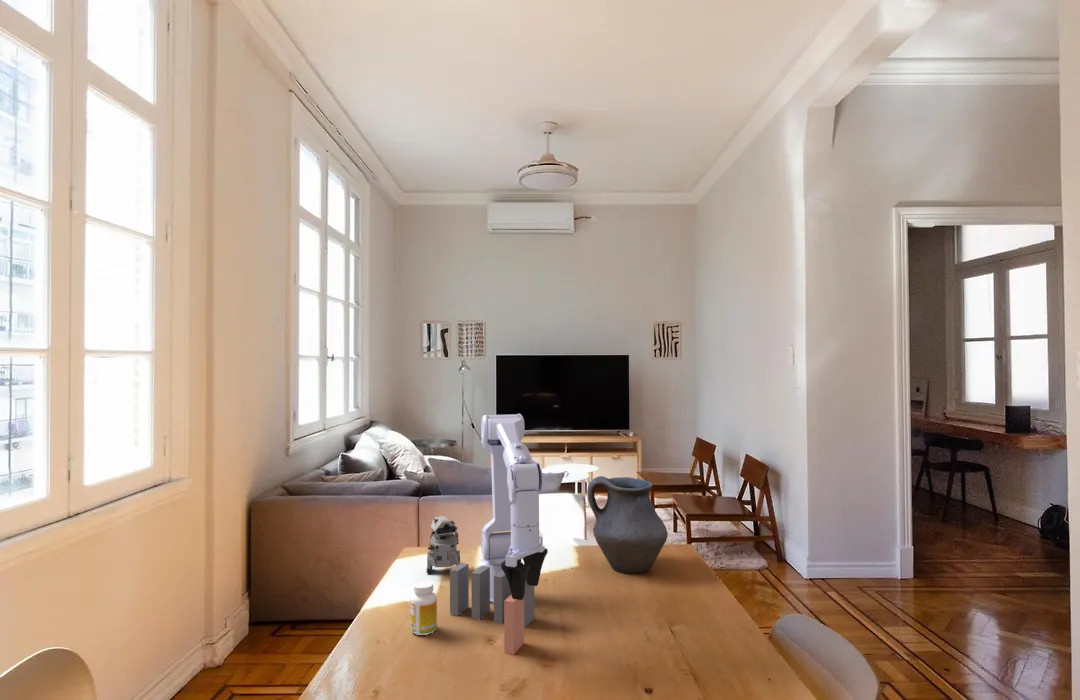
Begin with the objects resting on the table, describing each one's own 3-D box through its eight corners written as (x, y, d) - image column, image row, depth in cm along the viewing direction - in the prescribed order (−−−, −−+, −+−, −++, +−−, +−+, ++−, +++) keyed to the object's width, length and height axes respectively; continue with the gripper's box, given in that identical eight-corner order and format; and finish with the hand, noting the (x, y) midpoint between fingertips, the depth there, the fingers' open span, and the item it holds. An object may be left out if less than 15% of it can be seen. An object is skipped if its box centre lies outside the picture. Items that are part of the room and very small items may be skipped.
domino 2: (471, 618, 131) (471, 572, 131) (482, 609, 136) (481, 565, 136) (479, 619, 130) (479, 574, 130) (489, 611, 135) (489, 566, 135)
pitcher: (675, 581, 152) (674, 484, 153) (590, 581, 152) (589, 484, 153) (660, 555, 173) (659, 469, 173) (585, 556, 173) (584, 470, 174)
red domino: (504, 652, 115) (504, 600, 115) (515, 641, 120) (514, 591, 120) (513, 654, 114) (513, 602, 115) (524, 643, 119) (523, 593, 119)
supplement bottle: (441, 627, 127) (441, 581, 127) (428, 638, 122) (428, 590, 122) (419, 623, 128) (419, 578, 129) (405, 634, 123) (405, 587, 124)
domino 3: (493, 622, 129) (493, 576, 129) (503, 613, 134) (503, 568, 134) (502, 623, 128) (501, 577, 128) (511, 614, 133) (511, 569, 133)
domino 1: (450, 614, 133) (449, 569, 133) (461, 606, 138) (460, 562, 138) (457, 616, 132) (457, 570, 133) (468, 607, 137) (468, 563, 137)
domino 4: (516, 626, 127) (516, 579, 127) (526, 617, 131) (525, 571, 132) (525, 627, 126) (525, 580, 126) (534, 618, 131) (534, 572, 131)
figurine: (424, 582, 153) (424, 524, 153) (428, 567, 164) (428, 513, 165) (459, 581, 154) (459, 523, 154) (461, 566, 165) (461, 512, 166)
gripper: (529, 535, 111) (530, 608, 111) (555, 516, 124) (556, 581, 124) (495, 531, 114) (496, 603, 113) (524, 513, 127) (525, 577, 127)
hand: (525, 591), depth 119 cm, fingers open, 7 cm apart
